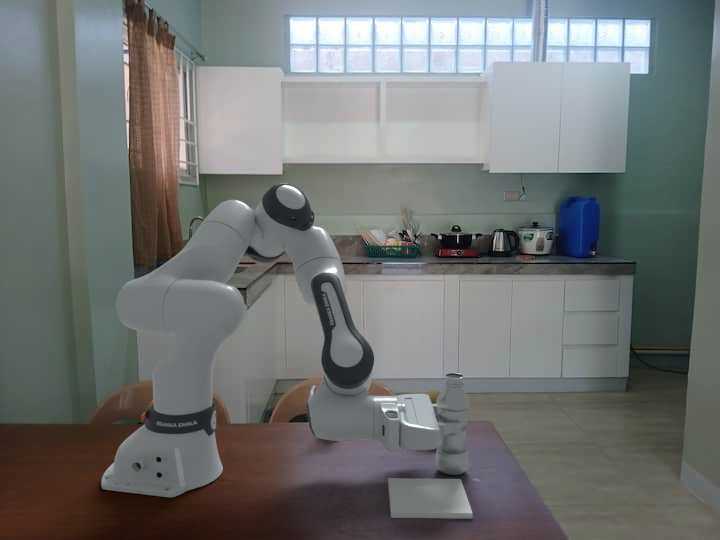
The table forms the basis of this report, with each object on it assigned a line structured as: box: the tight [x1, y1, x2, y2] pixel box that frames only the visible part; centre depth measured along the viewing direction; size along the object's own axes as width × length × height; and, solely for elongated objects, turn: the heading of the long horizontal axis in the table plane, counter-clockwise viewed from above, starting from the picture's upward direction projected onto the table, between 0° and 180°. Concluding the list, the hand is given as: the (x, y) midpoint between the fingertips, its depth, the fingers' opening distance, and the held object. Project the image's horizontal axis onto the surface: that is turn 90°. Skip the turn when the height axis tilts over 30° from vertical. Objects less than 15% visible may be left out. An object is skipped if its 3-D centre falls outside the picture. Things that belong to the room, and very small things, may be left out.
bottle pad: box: [387, 477, 473, 520], centre depth 106 cm, size 14×12×1 cm
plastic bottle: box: [434, 372, 471, 476], centre depth 116 cm, size 6×7×20 cm
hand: (457, 419), depth 115 cm, fingers closed on plastic bottle, 6 cm apart
